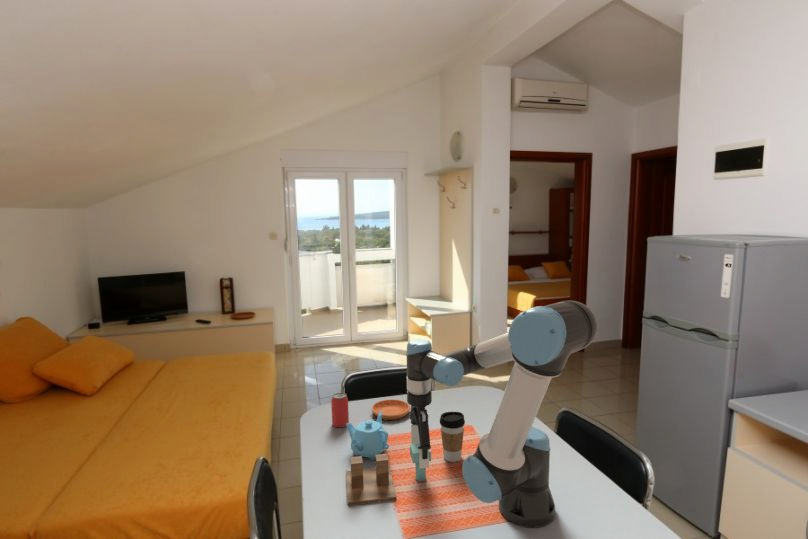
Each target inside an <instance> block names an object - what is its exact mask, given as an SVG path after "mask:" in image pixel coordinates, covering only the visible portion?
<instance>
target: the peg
mask: <svg viewBox="0 0 808 539" xmlns="http://www.w3.org/2000/svg"><path fill="white" fill-rule="evenodd" d="M418 447H420V443H417V444H411V443H410V444H409V454H410V458H411V460H412V461H411V462H412V463H413V464H415V480H416V481H417V482H420V483H421V482H425V481H426V479H427V471H426V469H427V468H421V469H420V467H419V449H418ZM430 462H432V451H431V449H429V463H430Z"/></svg>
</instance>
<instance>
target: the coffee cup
mask: <svg viewBox="0 0 808 539" xmlns="http://www.w3.org/2000/svg"><path fill="white" fill-rule="evenodd" d="M465 424H466V421H465V415H464V413H462V412H459V411H446V412H443V413H442V414H440V418H439V425H440V426H441V427H440V434H441V443H442V451H443V459H444V460H446V461H447V462H452V463H456V462H458V461H460V460H462V452H463V451H462V450H463V443H464V434H465V433H464V431H465V429H464V428H465V427H464V425H465Z"/></svg>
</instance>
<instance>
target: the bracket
mask: <svg viewBox="0 0 808 539" xmlns="http://www.w3.org/2000/svg"><path fill="white" fill-rule="evenodd" d="M375 457H376V459H375V467H371V468H364V465H363V464H364V461H363V456H351V457H350V470H345V473H346V474H345V476H346V477H345V478H346V493H347V495H346V496H347V506H356V505H358V506H359V505H365V504H373V503H381V502H389V501H396V500H398V499H397V492H396V489H395V485H394V480H393V476H392V472H391V468H390V467H391V466H390V465H389V457H388V453H380V454H378V455H376V456H375Z"/></svg>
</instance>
